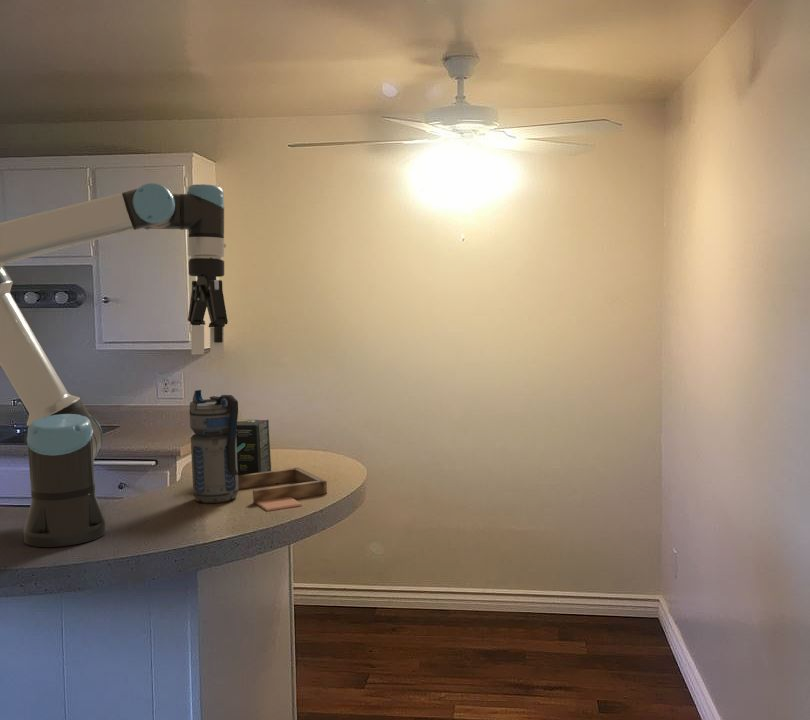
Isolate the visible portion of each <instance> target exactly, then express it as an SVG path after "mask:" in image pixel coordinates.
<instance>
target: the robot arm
mask: <svg viewBox="0 0 810 720" xmlns="http://www.w3.org/2000/svg"><path fill="white" fill-rule="evenodd" d="M140 229H143V230H144V229H145V230H150V229H151V230H181V231H182V230H188V234H187V235H188V238H187V241H188V242H187V245H188V246H187V251H188V252H187V255H188V256H189V257H190V258H189V260H188V275H189V276H190V277H196V278H197V279H196V280H192V281H191V296H190V299H189V310H188V316H187V322H188V323H190V327H191V328H190V329H191V330H190V331H191V332H190V333H191V338H190V339H191V340H190V341H191V342H190V343H191V344H190V345H191V349H190V350H191V353H190V354H191V355H205V325H206V321H205V320H204V319H205V315H206V312H207V313H208V316H209V321H210V322H209V323H208V328H209V358H210V359H213V360H214V359H225V351H224V350H225V348H224V347H225V345H224V344H225V343H224V341H225V340H224V339H225V337H224V335H225V331H224V329H225V328H224V327H226V326H225V325H228V323H229V320H228V317H227V316H228V315H227V310H226V304H225V297H224V291H223V280H221V279H217V278H220V277H224V276H225V261H224V259H222V258H224V256H225V249H226V247H227V243H225V199H224V191H223V189H222V187H220V186H217V185H213V184H191V185H189V186H188V188H187V192H186V193H181V194H179V193H178V194H177V193H172V192H171V191H170V190H169V188H167V187H166V186H164V185H161V184H160V183H157V182H149V183H145V184H142V185H141V186H139V187H138V188H135V189H132V190H127V191H124V192H119V193H115V194H112V195H107V196H103V197H99V198H95V199H91V200H86V201H82V202H79V203H75V204H69V205H67V206H62V207H58V208H55V209H51V210H46V211H42V212H39V213H34V214H30V215H27V216H23V217H18V218H14V219H11V220H6V221H2V222H0V367H1V368H2V370H3V372H4V373H5V375H6V377H7V378H8V380H9V382H10V384H11V385H12V388H14V390H15V392H16V393H17V395H18V397H19V399H20V401H21V402H22V404H23V405H24V407H25V409H26V411H27V412H28V417H27V422H26V426H27V437H26V443H27V450H28V463H29V465H28V467H29V481H30V494H31V499H30V500H31V503H30V505H29V510H28V513H27V516H26V521H25V525H24V526H23V527H24V528H23V542H24V543H25V544H26V545H27V546H31V547H36V548H37V547H39V548H59V547H68V546H74V545H79V544H84V543H87V542H91V541H93V540H97V539H100V538H101V537H103V536H105V535H106V533H107V532H108V530H107V527H108V526H107V519H106V517H105V515H104V512H103V510H102V508H101V505H100V502H99V500H98V498H97V495H96V494H97V493H96V483H95V481H96V478H95V462H94V461H95V459H97V457H98V456H99V454H100V453H101V451H102V448H103V444H104V435H103V429H102V427H101V425H100V423H99V422H98V420H96V418H95V417H94V416H92V414H90V413H89V412H88V410H87V407H85V405H84V403H83V401H82V399H81V398H80V396H76V395H73V394H70V393H69V392H68V390H67V388H66V387H65V385H64V383H63V382H62V380H61V378H60V377H59V375H58V374H57V372H56V370H55V368H54V367H53V364H52V363H51V361H50V359H49V357H48V356H47V355H46V352H45V351H44V349H43V347H42V346H41V344H40V343H39V340H38V339H37V337H36V335H35V334H34V332H33V330H32V328H31V326H30V325H29V323H28V322H27V320H26V318H25V316H24V315H23V313H22V310H21V309H20V307H19V306H18V304H17V302H16V300H15V299H14V297H13V296H12V294H11V289H12V286H13V283H14V282H13V280H12V278H11V277H10V274H9V273H8V271H7V269H6V268H5V266H4V265H5V264H9V263H15V262H17V261H22V260H25V259H29V258H33V257H37V256H41V255H44V254H49V253H52V252H55V251H59V250H65V249H68V248H71V247H75V246H78V245H83V244H86V243H89V242H93V241H97V240H102V239H106V238H108V237H113V236H117V235H120V234H125V233H127V232H128V233H129V232H132V231H136V230H140ZM206 310H207V311H206Z"/></svg>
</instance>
